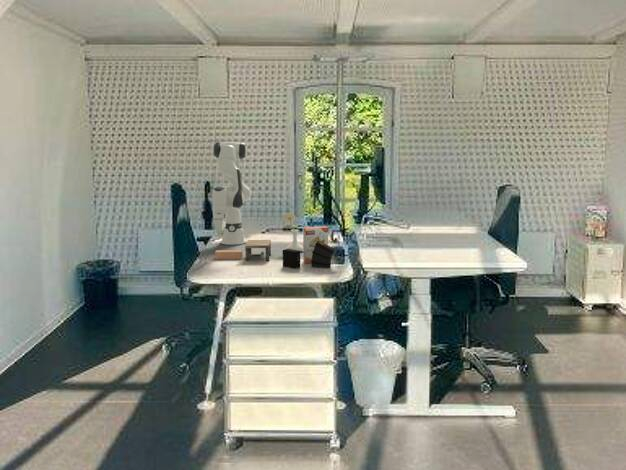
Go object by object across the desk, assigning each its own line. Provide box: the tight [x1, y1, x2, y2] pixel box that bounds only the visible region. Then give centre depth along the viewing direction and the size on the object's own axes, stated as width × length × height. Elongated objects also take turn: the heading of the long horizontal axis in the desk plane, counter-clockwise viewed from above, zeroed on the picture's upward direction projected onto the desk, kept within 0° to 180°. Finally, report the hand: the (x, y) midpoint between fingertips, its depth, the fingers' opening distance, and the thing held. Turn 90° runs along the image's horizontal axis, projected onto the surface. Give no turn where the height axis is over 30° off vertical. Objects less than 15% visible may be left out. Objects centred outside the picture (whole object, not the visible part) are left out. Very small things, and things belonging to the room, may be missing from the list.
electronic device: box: [282, 248, 301, 270], centre depth 391 cm, size 4×10×10 cm, turn 49°
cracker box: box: [302, 225, 329, 264], centre depth 403 cm, size 14×6×21 cm, turn 105°
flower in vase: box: [282, 212, 303, 252], centre depth 434 cm, size 13×11×25 cm
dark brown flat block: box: [310, 241, 336, 269], centre depth 390 cm, size 4×13×15 cm, turn 75°
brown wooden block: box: [214, 249, 244, 260], centre depth 417 cm, size 6×16×4 cm, turn 90°
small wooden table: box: [244, 239, 272, 262], centre depth 416 cm, size 19×14×10 cm
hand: (221, 236), depth 415 cm, fingers open, 8 cm apart
